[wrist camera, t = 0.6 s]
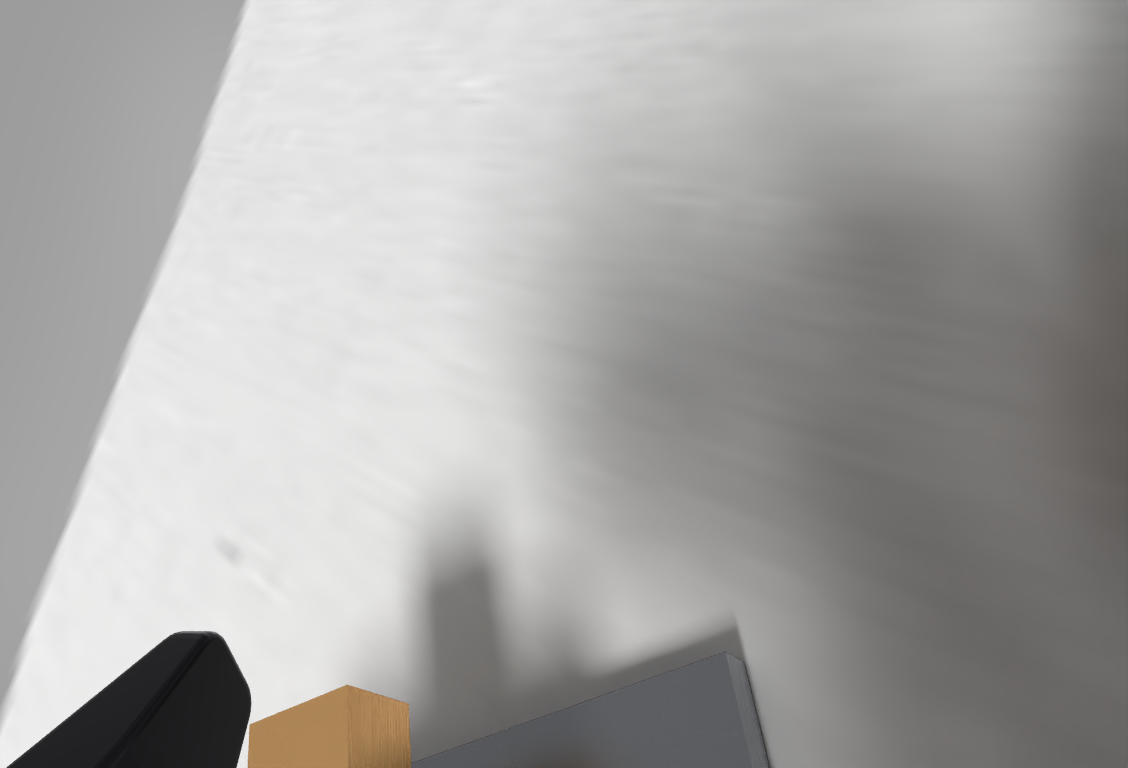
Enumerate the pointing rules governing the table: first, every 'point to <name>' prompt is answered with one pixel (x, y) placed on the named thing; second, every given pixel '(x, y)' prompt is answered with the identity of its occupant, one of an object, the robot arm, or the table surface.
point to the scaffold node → (537, 729)
